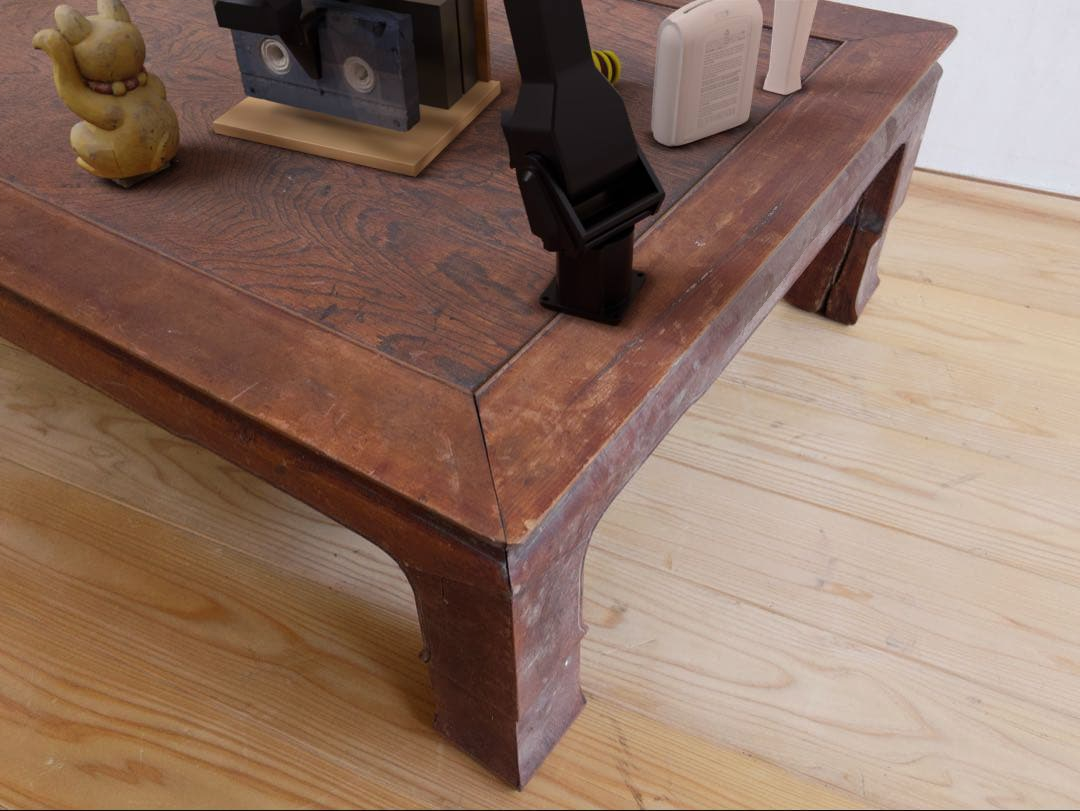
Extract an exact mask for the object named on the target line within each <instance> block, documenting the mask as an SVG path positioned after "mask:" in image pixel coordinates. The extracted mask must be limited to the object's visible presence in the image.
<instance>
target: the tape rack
mask: <svg viewBox="0 0 1080 811" xmlns="http://www.w3.org/2000/svg"><path fill="white" fill-rule="evenodd" d="M350 4H357V5H363V6H367V7H373V8H379V9H384V10H388V11H392V12H396V13H400V14H410V15H411V21H412V29H413V40H412V43H414V50H415V62H416V70H417V82H418V91H419V106H420V121H419V122H418V123H417V124H416V125H414V126H413V128H412V129H411V130H410V131H407V132H401V131H396V130H392V129H387V128H383V127H379V126H375V125H370V124H366V123H361V122H357V121H353V120H348V119H344V118H339V117H335V116H331V115H328V114H324V113H320V112H314V111H310V110H306V109H301V108H296V107H292V106H288V105H284V104H280V103H275V102H271V101H267V100H264V99H257V98H253V97H249V96H247V97H246V98H244V99H243V100H241V101H240V102H238V103H237V104H236V105H234V106H233V107H231V108H230V109H229V110H227V111H226V112H224V113H223V114H222V115H220V116H219V117H218V118H216V119H214V120H213V121H212V125H213V129H214V132H215V134H218V135H222V136H227V137H232V138H237V139H241V140H246V141H250V142H254V143H258V144H263V145H268V146H273V147H277V148H281V149H282V148H283V149H287V150H291V151H295V152H300V153H305V154H309V155H313V156H317V157H323V158H326V159H333V160H335V161H336V160H337V161H342V162H345V163H350V164H356V165H360V166H364V167H368V168H372V169H373V168H374V169H376V170H382V171H387V172H390V173H396V174H400V175H405V176H409V177H414V178H416V177H417V176H418V175H419V174H420V173H421V172H422V171H424V170H425V168H426V167H428V165H429V164H430V163H431V162H432V161H434V159H436V157H437V156H438V155H439V154H440V153H442V151H443V150H444V149H445V148H446V147H447V146H449V144H451V142H452V141H453V140H454V139H455V138H457V136H459V135H460V134H461V133H462V132H463V130H464V129H465V128H467V126H468V125H470V124H471V122H473V121H474V120H475V119H476V118H477V116H479V115H480V114H481V113H482V111H484V109H486V107H488V106H489V105H490V104H491V103H492V102H493V101H494V100H495V99H496V98H497V97H498V96H499V95H500V94H501V92H502V90H501V81H499V80H493V79H492V69H491V68H492V67H491V48H490V29H489V28H490V27H489V11H488V0H351V1H350Z"/></svg>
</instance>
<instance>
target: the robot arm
mask: <svg viewBox="0 0 1080 811" xmlns="http://www.w3.org/2000/svg"><path fill="white" fill-rule="evenodd" d="M337 1H341V2H345V3H350V1H351V0H337ZM211 2H212V7H213V10H214V16H215V20H216V22H217V25H218V27H219V28H222V29H228V30H231V29H233V30H239V31H245V32H251V33H257V34H262V35H268V36H274V35H278V36H279V37H280V38H281V40H282V41H283V42H284V44H285V45H286V46H287V47H288V49H289V50H290V52H291V53H292V54H293V56H294V57H295V58H296V60H297V61H298V63H299V64H300V65H301V67H302V68H303V69H304V71H305V72H306V74H307V75H308V76H309V78H311V79H315V80H320V79H321V78H322V63H321V53H320V44H319V34H318V23H319V21H320V20H321V19H322V17H323V16H324V15H325V13H326V12H327V10H328V8H324V7H318V6H315V2H314V0H211ZM502 3H503V6H504V10H505V16H506V19H507V24H508V27H509V32H510V37H511V40H512V46H513V49H514V53H515V57H516V63H517V62H518V67H519V71H520V74H519V75H520V82H521V83H520V86H519V91H518V94H517V98H516V102H515V104H513V105H510V106H508V107H506V108H504V109H502V110H501V112H500V127H501V130H502V132H503V135H504V139H505V142H506V145H507V150H508V155H509V158H508V159H509V162H508V163H509V168H510V170H514V169H515V176H516V177H515V178H516V181H517V184H518V188H519V192H520V196H521V199H522V203H523V207H524V210H525V214H526V217H527V218H526V219H527V221H528V226H529V228H530V229H529V230H530V232H531V233H532V235H534V236H535V237H537V238H539V239H540V240H541V242H542V248H543V250H545V251H547V252H548V253H555V275H554V276H553V278H552V279H551V281H550V282H549V284H548V285H547V287H546V288H545V289H544V291H543V292H542V293H541V295H540V296H539V300H538V302H539V305H540V306H541V307H543V308H546V309H550V310H555V311H558V312H563V313H567V314H570V315H573V316H578V317H582V318H587V319H590V320H595V321H598V322H602V323H605V324H609V325H620V324H621V323H622V322H623V320H624V318H625V316H626V315H627V313H628V311H629V310H630V308H631V306H632V305H633V303H634V302H635V300H636V298H637V296H638V295H639V293H640V292H641V290H642V288H643V286H644V285H645V283H646V281H647V273H646V272H644V271H641V270H637V269H633V264H634V249H635V248H634V246H635V230H636V224H637V223H640V222H641V221H643V220H645V219H647V218H648V217H650V216H651V217H653V216H655V215H657V214H658V213H659V212H660V209H661V207H662V206H663V202H664V201H665V199H666V190H665V189H664V187H663V186H662V184H661V182H660V180H659V178H658V177H657V174H656V172H655V171H654V169H653V167H652V165H651V164H650V162H649V160H648V159H647V156H646V155H645V153H644V151H643V149H642V148H641V145H640V144H639V142H638V140H637V138H636V136H635V133H634V129H633V127H632V122H631V120H630V116H629V113H628V110H627V107H626V103H625V101H624V98H623V96H622V95H621V93H620V92H619V91H618V90H617V88H615V86H614V85H612V84H611V83H610V82H609V81H608V80H607V78H606V77H605V76H604V75H603V74H602V73H601V72H600V70H599V69H598V68H597V67H596V66H595V63H594V60H593V56H592V52H591V50H592V46H591V42H590V37H589V32H588V25H587V21H586V17H585V16H586V15H585V12H584V11H585V10H584V6H583V0H502ZM519 71H518V72H519Z"/></svg>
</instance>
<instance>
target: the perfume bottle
mask: <svg viewBox="0 0 1080 811" xmlns="http://www.w3.org/2000/svg"><path fill="white" fill-rule="evenodd" d="M818 2H819V0H774V8H773V17H772V18H773V19H772V30H771V42H770V43H771V44H770V54H769V67H768V71H767V74H766V77H765V79H764V83H763V88H762V90H764V91H767V92H771V93H775V94H779V95H782V96H787V95H790V94H792V93H794V92H797V91H799V90H801V89H802V82H801V70H802V65H803V61H804V58H805V54H806V50H807V46H808V42H809V38H810V34H811V30H812V26H813V23H814V18H815V14H816V10H817V5H818Z"/></svg>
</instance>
